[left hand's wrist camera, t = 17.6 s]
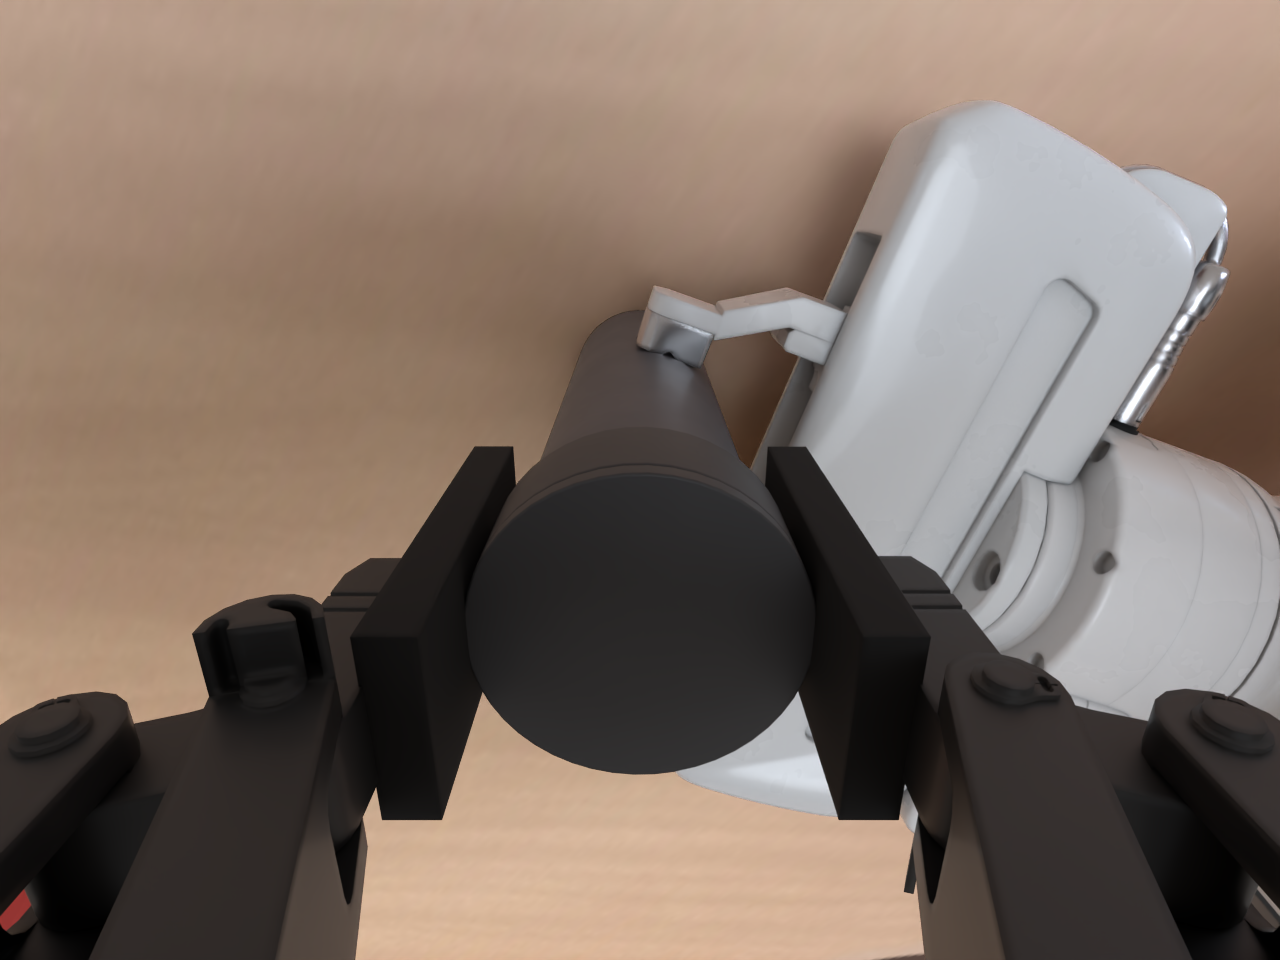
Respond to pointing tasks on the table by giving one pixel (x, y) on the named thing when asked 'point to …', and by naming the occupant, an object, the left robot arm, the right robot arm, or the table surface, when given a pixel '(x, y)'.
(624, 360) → the dark grey bottle
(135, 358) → the table surface
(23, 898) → the toy
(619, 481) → the lid
